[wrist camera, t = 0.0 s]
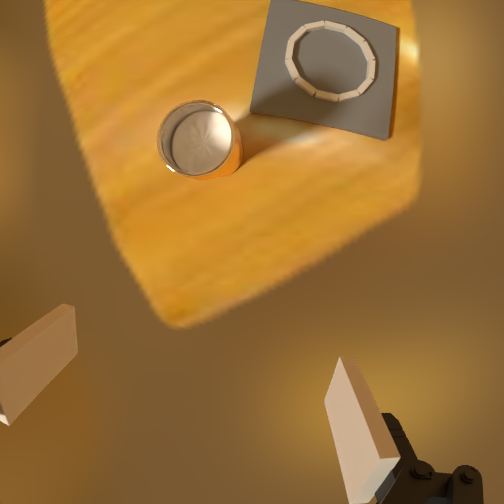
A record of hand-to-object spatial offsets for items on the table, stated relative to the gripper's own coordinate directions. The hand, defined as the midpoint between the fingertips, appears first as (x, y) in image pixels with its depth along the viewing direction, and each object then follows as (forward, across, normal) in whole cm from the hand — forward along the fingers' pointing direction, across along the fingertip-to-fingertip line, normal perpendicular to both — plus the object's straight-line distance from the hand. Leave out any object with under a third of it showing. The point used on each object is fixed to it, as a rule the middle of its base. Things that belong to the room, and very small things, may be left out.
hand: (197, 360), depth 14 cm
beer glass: (+28, -4, +11) cm, 31 cm away
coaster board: (+28, +8, +26) cm, 39 cm away
